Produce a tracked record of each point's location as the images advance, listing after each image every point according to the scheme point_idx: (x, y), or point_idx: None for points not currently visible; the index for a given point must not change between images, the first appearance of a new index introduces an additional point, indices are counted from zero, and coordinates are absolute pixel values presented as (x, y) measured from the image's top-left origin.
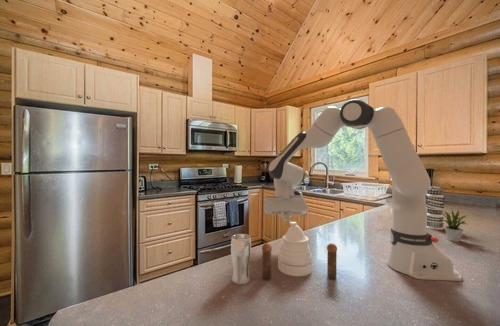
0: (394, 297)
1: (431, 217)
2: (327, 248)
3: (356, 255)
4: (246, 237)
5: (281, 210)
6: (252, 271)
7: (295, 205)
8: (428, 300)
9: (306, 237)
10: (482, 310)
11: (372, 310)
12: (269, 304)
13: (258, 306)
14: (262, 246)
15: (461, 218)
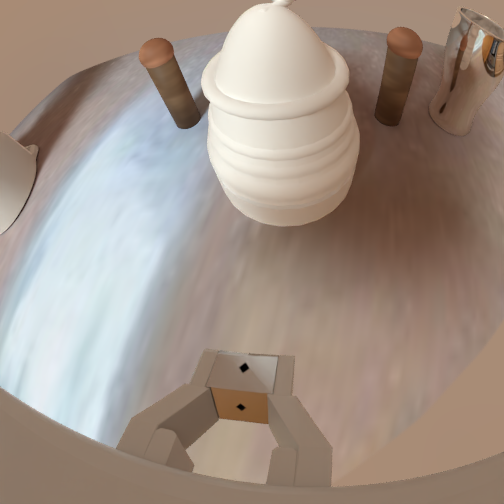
0: (122, 82)
1: None
2: (172, 48)
3: (38, 268)
4: (482, 38)
5: (328, 488)
6: (435, 153)
7: (1, 484)
8: (85, 90)
9: (211, 69)
10: (57, 90)
11: (185, 49)
12: (366, 49)
13: (385, 49)
14: (421, 41)
15: None
